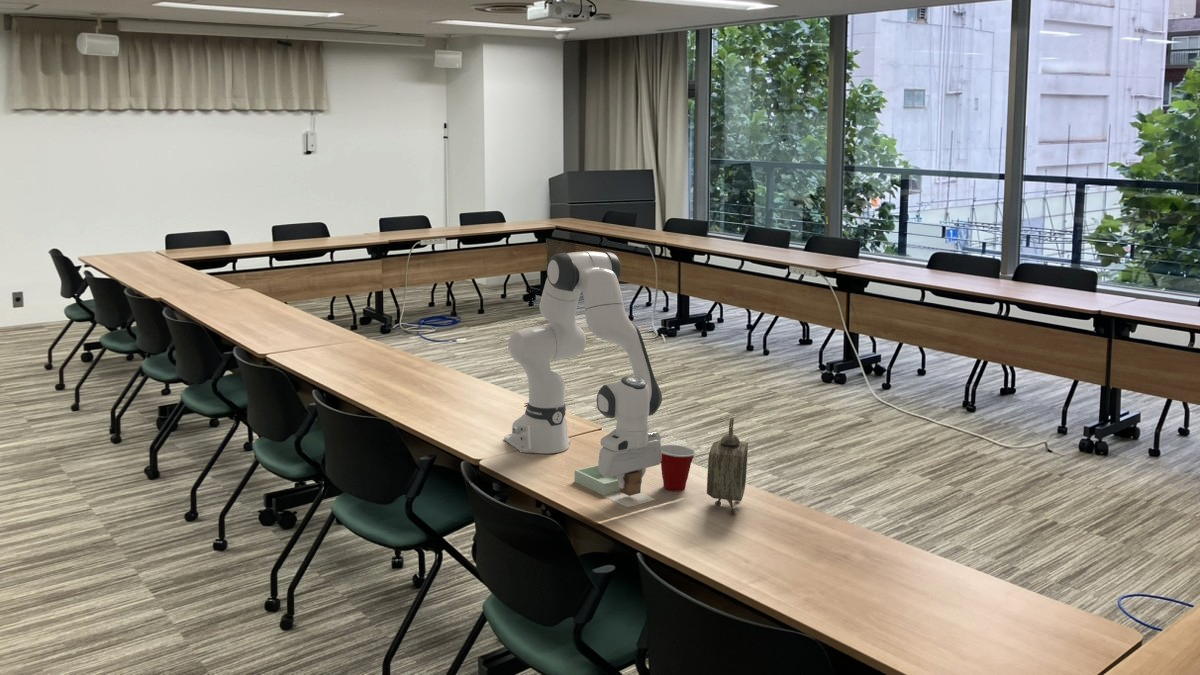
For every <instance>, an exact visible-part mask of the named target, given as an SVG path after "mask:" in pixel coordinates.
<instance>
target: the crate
mask: <svg viewBox="0 0 1200 675" xmlns="http://www.w3.org/2000/svg"><path fill="white" fill-rule="evenodd" d="M573 482H574V483H577V484H579V485H581V486H583V487H584V488H587V489H588V490H591V491H593V492H595V493H598V494H599V495H602V496H607V495H610V494H614V493H618V492H620V488H619V481H618V480H617V478H616V476H612V477H605V476H603V475H601V474H600V473H599V470H598V464H596V465H591V466H587V467H582V468H579V469H574V481H573Z"/></svg>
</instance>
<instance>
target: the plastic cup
mask: <svg viewBox="0 0 1200 675" xmlns="http://www.w3.org/2000/svg"><path fill="white" fill-rule="evenodd" d="M661 449H662V461H661V463H660V466H661V468H660V470H661V477H662V483H663V488H664V489H665V490H668V491H672V492H679V491H684V490H685V489H686V486H687V481H688V478H689V473H690V470H691V469H690V468H691V465H692V462H693V459H694V457H695V455H696V454H697V452H696V450H695V449H694V448H691V447H688V446H683V445H678V444H664V445H663V444H661Z"/></svg>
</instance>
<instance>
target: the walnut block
mask: <svg viewBox="0 0 1200 675" xmlns="http://www.w3.org/2000/svg"><path fill="white" fill-rule="evenodd" d="M623 479H624V481H626V482H627V487H626V488H623V489H621V488H620V492H622V493H624V494H626V495H628V496H631V495H635V494H639V493H641V488H642V487H641V486H642V483H641V472H640V471H637V470H636V471H632V472H628V473H624V477H623Z"/></svg>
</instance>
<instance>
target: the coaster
mask: <svg viewBox="0 0 1200 675" xmlns="http://www.w3.org/2000/svg"><path fill="white" fill-rule="evenodd" d="M603 496H604V495H603ZM604 498H606V499H609V500H611V501H613V502H615V503H618V504H619V505H622V506H624V507H626V508H630V507H635V506H638V505H641V504H644V503H649V502H652V501H656V498H653V497H652V496H648V495H647V494H645V493H642V492H640V493H639V494H635V495H631V496H628V495H626V494H624V493H622V492H617V493H613V494H609V495H605V496H604Z"/></svg>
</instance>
